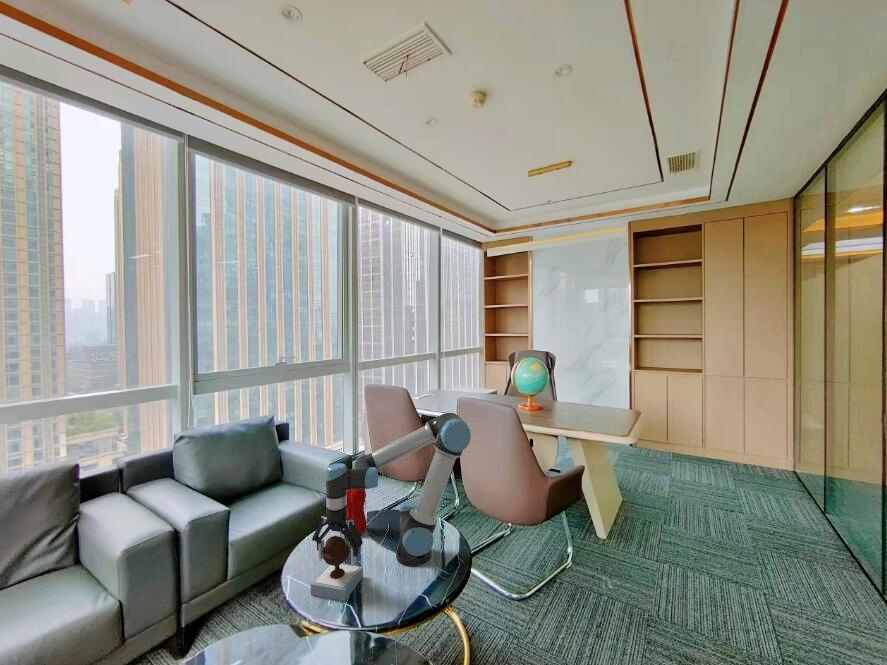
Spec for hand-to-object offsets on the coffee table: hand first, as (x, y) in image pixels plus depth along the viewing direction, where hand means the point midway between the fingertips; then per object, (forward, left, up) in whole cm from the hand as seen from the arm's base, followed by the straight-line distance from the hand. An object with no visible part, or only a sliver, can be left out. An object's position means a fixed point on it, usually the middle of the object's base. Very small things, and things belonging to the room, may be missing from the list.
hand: (337, 561), depth 145 cm
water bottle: (+11, -37, -9) cm, 40 cm away
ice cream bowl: (0, 0, -5) cm, 5 cm away
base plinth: (0, 0, -9) cm, 9 cm away
